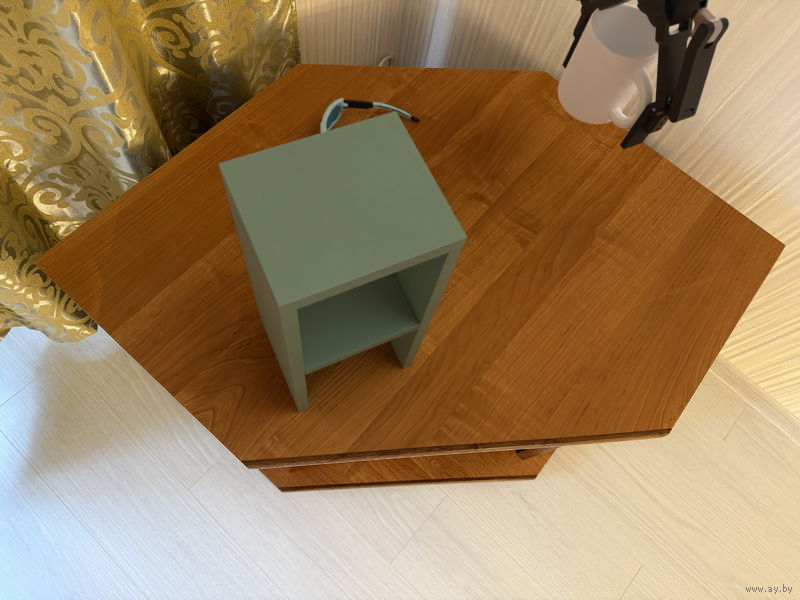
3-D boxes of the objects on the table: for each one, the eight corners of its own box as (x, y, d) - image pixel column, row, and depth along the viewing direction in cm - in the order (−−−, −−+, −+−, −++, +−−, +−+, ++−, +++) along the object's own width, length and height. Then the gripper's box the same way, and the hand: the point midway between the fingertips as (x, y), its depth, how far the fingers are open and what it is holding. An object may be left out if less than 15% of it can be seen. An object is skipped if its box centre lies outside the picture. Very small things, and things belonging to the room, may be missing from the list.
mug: (649, 142, 70) (699, 77, 61) (590, 159, 68) (632, 94, 59) (600, 68, 74) (640, -4, 65) (543, 81, 72) (576, 9, 63)
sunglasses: (310, 114, 82) (314, 88, 78) (413, 119, 86) (422, 94, 82) (321, 201, 76) (326, 178, 72) (430, 201, 81) (441, 179, 76)
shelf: (412, 364, 69) (467, 237, 42) (298, 412, 66) (278, 307, 38) (370, 278, 73) (395, 110, 46) (260, 319, 69) (217, 163, 42)
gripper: (595, -157, 53) (523, 38, 73) (765, 31, 45) (632, 193, 65) (660, -168, 55) (573, 24, 75) (834, 10, 47) (685, 173, 67)
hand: (601, 103), depth 70 cm, fingers closed on mug, 12 cm apart
